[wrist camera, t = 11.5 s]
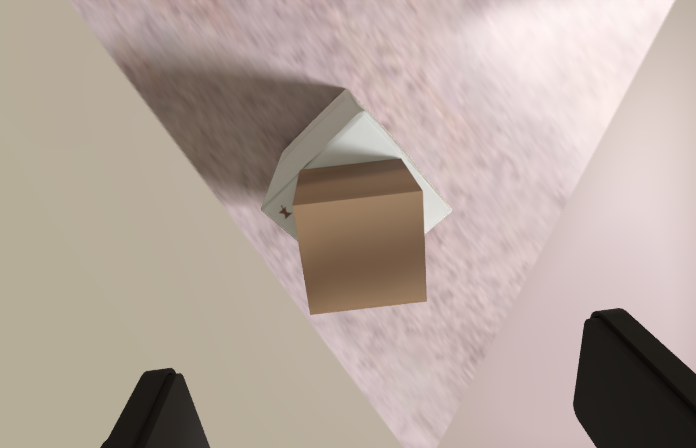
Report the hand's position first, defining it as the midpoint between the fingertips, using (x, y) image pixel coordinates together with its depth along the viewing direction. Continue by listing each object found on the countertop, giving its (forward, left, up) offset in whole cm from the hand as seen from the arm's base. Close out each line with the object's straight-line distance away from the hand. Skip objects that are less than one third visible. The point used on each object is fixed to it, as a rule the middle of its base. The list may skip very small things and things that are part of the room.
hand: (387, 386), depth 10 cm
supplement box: (0, 0, -25) cm, 25 cm away
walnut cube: (0, 0, -13) cm, 13 cm away
